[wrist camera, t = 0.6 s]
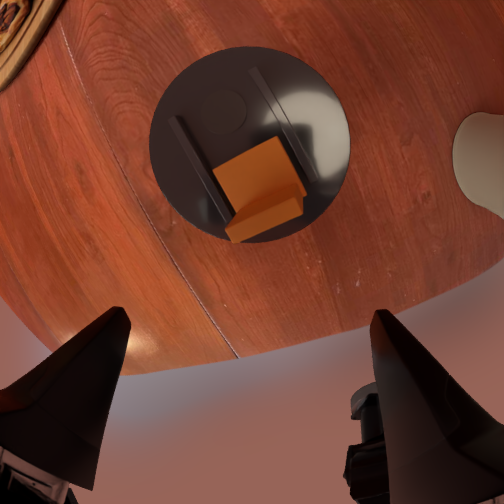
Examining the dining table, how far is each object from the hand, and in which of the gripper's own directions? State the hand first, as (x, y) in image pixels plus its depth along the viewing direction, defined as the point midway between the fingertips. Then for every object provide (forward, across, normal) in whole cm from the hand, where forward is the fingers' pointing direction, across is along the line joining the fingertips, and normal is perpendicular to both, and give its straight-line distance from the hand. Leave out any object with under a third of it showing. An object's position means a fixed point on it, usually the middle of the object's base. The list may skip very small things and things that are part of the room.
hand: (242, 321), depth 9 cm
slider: (+7, 0, -2) cm, 7 cm away
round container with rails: (+16, 0, -3) cm, 17 cm away
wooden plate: (+24, +36, -34) cm, 55 cm away
